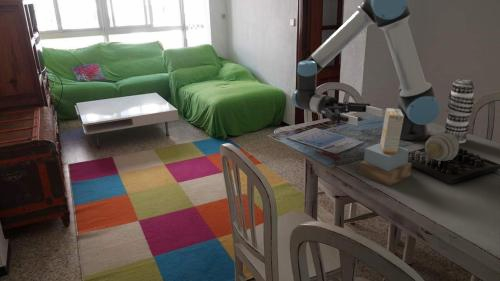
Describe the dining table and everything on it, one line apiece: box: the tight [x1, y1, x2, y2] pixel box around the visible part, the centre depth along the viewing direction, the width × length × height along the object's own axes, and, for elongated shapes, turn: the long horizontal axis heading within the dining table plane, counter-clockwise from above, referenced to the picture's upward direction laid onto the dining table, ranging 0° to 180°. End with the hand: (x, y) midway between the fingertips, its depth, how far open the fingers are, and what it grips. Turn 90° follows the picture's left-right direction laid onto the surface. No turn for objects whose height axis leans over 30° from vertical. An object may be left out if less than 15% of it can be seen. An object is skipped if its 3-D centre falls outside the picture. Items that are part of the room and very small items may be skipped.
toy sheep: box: [424, 132, 460, 161], centre depth 137 cm, size 11×17×11 cm, turn 130°
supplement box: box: [379, 108, 404, 154], centre depth 126 cm, size 8×5×13 cm, turn 168°
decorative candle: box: [443, 78, 476, 144], centre depth 154 cm, size 9×9×25 cm
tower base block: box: [359, 160, 413, 187], centre depth 131 cm, size 12×12×5 cm
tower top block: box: [363, 142, 410, 171], centre depth 129 cm, size 10×10×5 cm
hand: (369, 117), depth 132 cm, fingers open, 13 cm apart
